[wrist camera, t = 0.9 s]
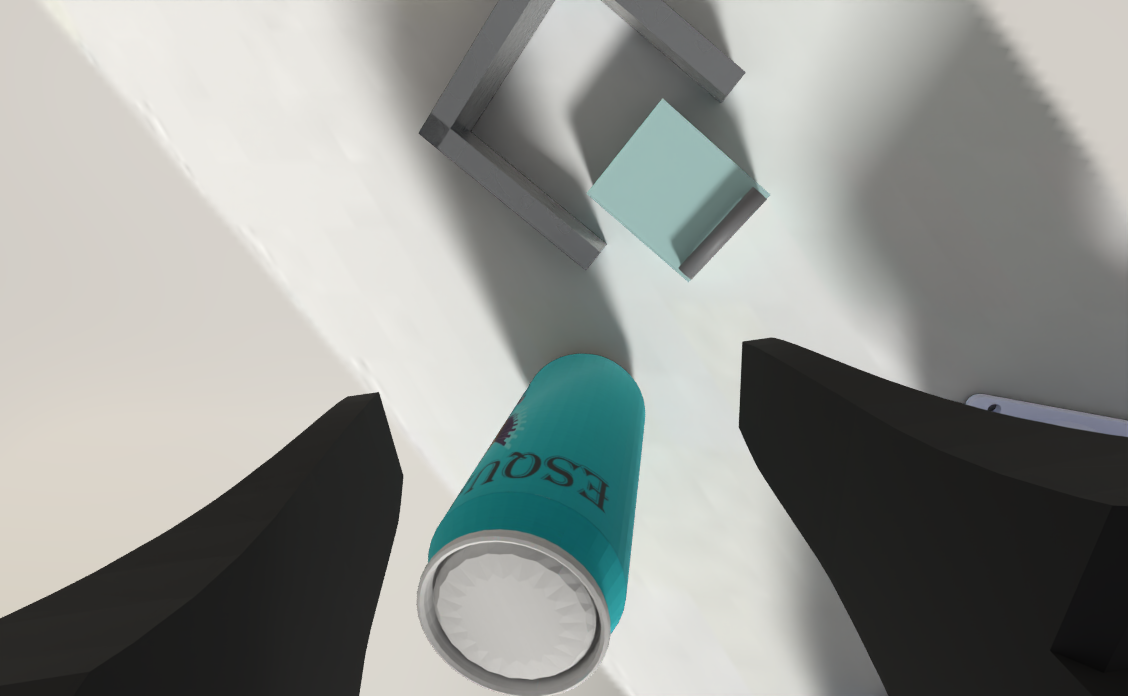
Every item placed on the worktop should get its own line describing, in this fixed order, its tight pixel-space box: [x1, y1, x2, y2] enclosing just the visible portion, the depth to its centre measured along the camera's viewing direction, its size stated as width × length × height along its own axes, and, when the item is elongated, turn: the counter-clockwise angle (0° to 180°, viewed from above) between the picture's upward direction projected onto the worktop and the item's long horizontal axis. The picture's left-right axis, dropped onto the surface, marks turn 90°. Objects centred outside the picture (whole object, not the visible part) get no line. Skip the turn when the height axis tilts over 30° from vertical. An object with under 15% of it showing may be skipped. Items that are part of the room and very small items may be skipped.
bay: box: [419, 0, 746, 270], centre depth 23 cm, size 9×10×2 cm
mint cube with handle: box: [587, 98, 770, 282], centre depth 23 cm, size 6×4×4 cm
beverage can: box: [417, 354, 645, 696], centre depth 22 cm, size 6×6×15 cm
